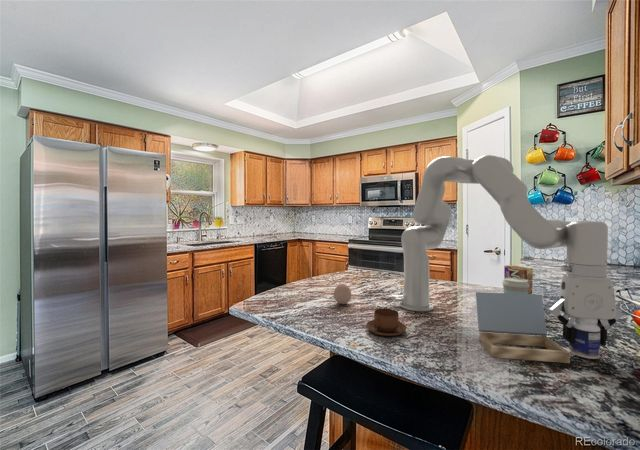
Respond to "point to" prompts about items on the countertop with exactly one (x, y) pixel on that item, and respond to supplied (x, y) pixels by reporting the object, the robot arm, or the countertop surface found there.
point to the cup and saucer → (386, 323)
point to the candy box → (520, 274)
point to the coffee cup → (515, 286)
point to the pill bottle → (586, 338)
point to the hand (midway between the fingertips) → (584, 341)
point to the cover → (511, 313)
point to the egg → (342, 294)
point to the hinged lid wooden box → (551, 355)
